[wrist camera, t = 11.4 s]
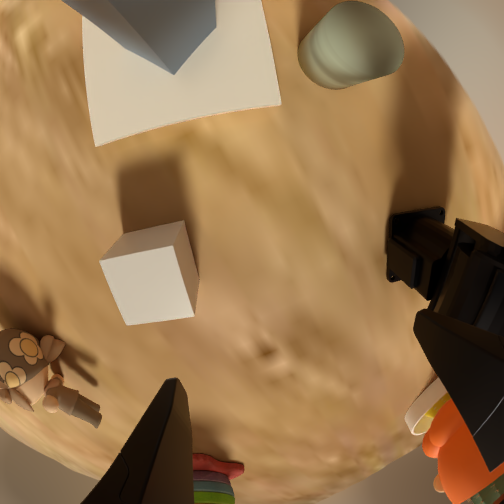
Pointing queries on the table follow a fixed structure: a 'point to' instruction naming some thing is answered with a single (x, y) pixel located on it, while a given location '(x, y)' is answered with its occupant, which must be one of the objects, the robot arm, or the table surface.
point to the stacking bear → (214, 480)
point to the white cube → (153, 274)
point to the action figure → (38, 376)
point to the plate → (180, 76)
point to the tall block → (153, 26)
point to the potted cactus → (453, 449)
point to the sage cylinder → (351, 46)
